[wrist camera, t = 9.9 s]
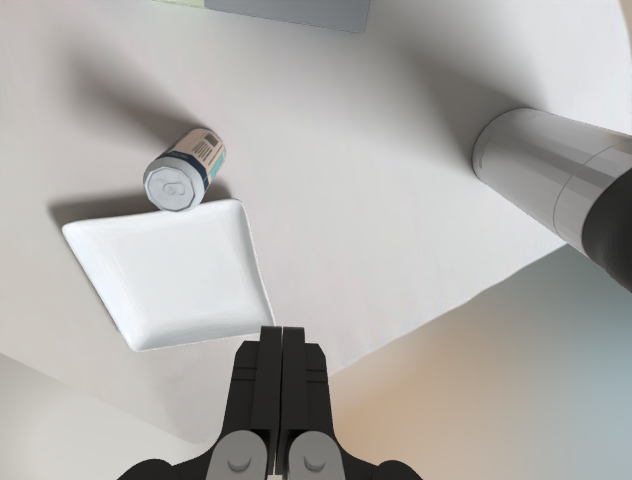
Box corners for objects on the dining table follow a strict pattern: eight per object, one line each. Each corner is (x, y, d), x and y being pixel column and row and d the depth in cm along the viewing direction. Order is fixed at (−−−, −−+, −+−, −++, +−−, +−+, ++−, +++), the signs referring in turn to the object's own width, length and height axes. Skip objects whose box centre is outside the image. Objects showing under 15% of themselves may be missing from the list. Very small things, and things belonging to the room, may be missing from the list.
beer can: (177, 128, 35) (130, 162, 25) (222, 125, 35) (193, 159, 25) (187, 171, 38) (149, 219, 27) (230, 169, 38) (207, 215, 28)
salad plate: (245, 186, 40) (242, 198, 37) (278, 316, 50) (277, 333, 47) (71, 212, 40) (53, 225, 37) (141, 336, 51) (132, 354, 48)
